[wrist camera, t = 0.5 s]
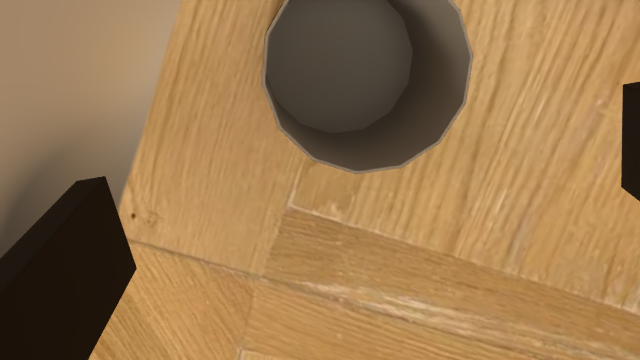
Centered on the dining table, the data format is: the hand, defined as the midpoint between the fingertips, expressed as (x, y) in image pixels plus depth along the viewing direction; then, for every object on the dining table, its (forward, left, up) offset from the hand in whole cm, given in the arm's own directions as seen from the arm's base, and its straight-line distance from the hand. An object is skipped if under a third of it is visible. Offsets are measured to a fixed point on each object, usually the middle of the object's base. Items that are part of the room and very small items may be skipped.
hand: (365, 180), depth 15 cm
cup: (-1, +2, -19) cm, 19 cm away
